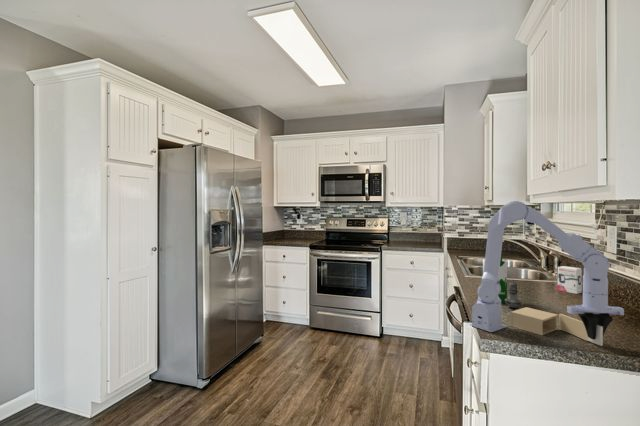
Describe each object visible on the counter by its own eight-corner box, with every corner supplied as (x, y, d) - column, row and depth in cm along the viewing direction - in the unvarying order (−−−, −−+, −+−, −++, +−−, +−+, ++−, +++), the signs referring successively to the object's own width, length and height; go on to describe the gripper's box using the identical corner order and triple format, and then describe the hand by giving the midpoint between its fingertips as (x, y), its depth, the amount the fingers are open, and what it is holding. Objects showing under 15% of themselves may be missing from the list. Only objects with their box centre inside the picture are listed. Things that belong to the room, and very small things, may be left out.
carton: (542, 335, 104) (542, 320, 104) (510, 326, 112) (510, 311, 112) (557, 329, 109) (557, 314, 109) (526, 320, 117) (526, 307, 117)
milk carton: (488, 303, 140) (488, 256, 139) (480, 297, 149) (480, 254, 148) (510, 303, 139) (510, 257, 139) (500, 298, 148) (500, 254, 148)
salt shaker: (513, 312, 127) (513, 281, 127) (501, 307, 133) (501, 278, 133) (525, 310, 129) (525, 280, 129) (512, 306, 135) (512, 277, 135)
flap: (602, 346, 95) (602, 326, 95) (600, 346, 94) (600, 326, 94) (561, 328, 109) (561, 311, 109) (559, 328, 109) (559, 311, 109)
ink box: (556, 290, 161) (556, 266, 161) (562, 289, 164) (562, 265, 164) (576, 294, 154) (576, 269, 154) (582, 292, 156) (582, 268, 156)
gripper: (610, 289, 100) (610, 333, 100) (560, 288, 101) (560, 332, 101) (630, 295, 93) (630, 343, 93) (576, 294, 94) (576, 341, 94)
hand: (595, 338), depth 97 cm, fingers closed on flap
